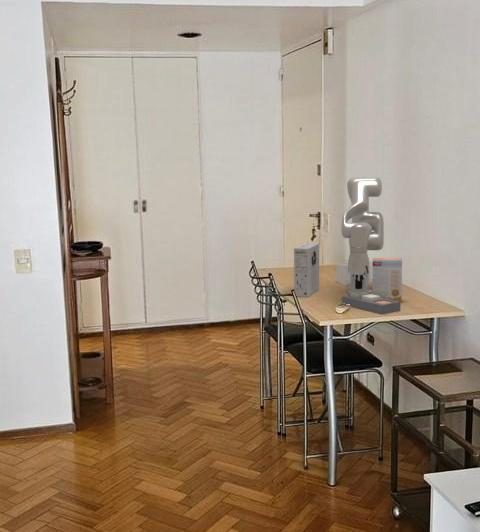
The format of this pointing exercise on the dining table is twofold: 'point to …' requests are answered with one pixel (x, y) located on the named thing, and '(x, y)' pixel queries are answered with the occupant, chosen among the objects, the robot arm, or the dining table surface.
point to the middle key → (370, 297)
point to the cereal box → (306, 269)
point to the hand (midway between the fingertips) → (358, 288)
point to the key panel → (372, 304)
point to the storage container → (344, 275)
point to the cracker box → (387, 278)
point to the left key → (358, 294)
